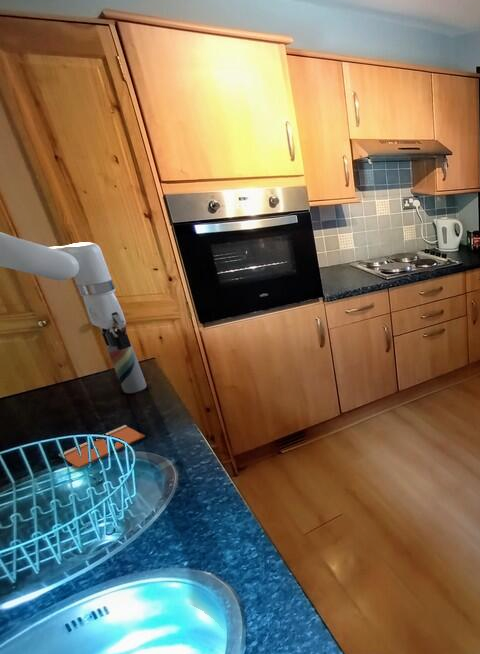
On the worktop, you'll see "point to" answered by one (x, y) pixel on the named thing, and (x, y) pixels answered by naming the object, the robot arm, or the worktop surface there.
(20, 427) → the worktop surface
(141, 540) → the worktop surface
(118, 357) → the lotion bottle
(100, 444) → the orange flat block
